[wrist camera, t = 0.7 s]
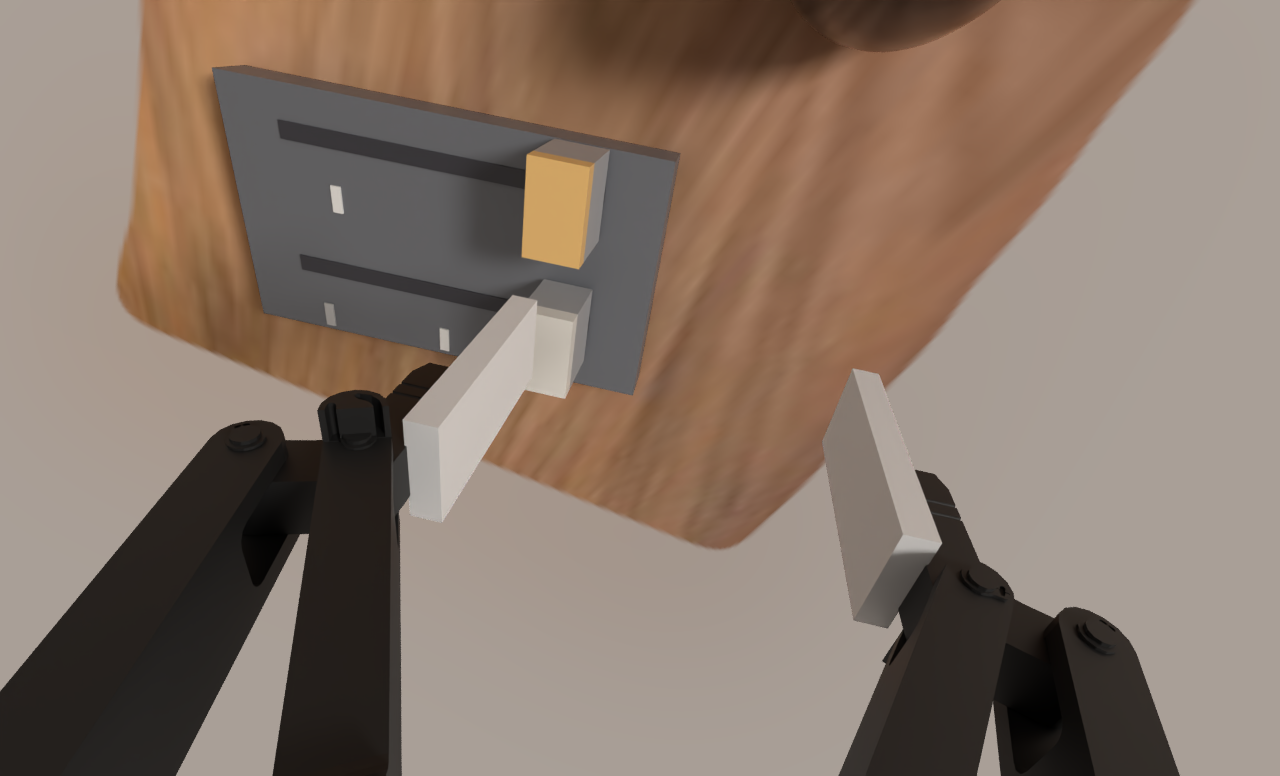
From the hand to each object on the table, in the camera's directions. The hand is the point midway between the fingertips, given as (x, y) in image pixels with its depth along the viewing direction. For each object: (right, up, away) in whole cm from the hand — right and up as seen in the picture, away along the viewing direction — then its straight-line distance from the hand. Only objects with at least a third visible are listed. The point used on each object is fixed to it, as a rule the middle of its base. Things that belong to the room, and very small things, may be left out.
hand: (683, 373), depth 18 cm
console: (-13, +9, +20) cm, 26 cm away
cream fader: (-6, +4, +19) cm, 20 cm away
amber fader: (-5, +10, +14) cm, 18 cm away
